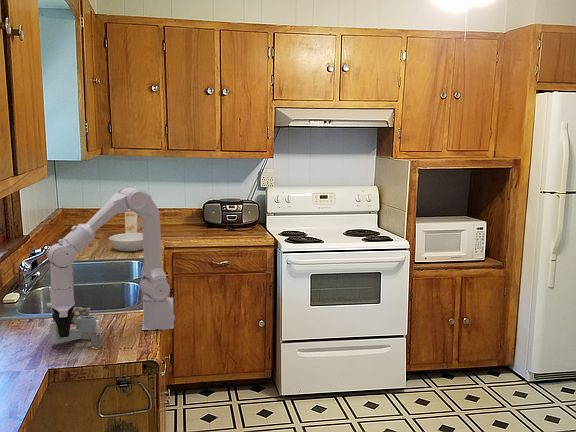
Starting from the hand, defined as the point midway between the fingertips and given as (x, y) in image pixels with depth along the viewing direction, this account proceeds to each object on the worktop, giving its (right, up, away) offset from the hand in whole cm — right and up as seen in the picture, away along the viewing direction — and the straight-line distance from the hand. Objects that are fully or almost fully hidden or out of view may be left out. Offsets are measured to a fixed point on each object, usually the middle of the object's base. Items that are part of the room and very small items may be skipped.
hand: (64, 333), depth 152 cm
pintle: (+8, -3, +4) cm, 9 cm away
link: (+2, -2, +3) cm, 4 cm away
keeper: (+8, -4, -1) cm, 9 cm away
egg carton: (-6, 0, +21) cm, 22 cm away
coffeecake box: (-21, +20, +147) cm, 150 cm away
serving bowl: (-16, +16, +121) cm, 123 cm away
